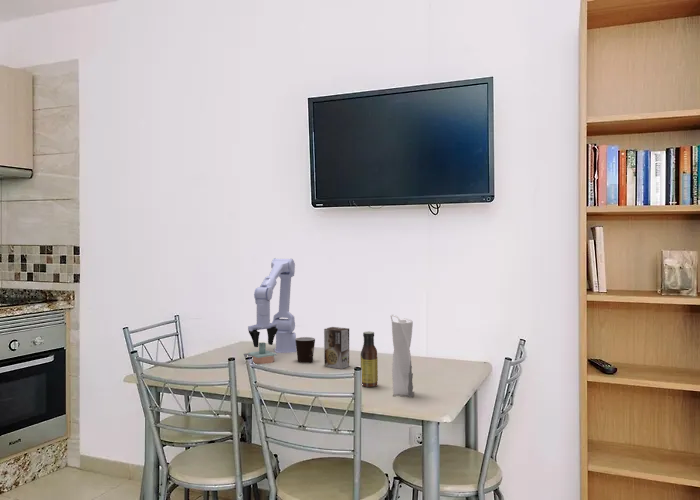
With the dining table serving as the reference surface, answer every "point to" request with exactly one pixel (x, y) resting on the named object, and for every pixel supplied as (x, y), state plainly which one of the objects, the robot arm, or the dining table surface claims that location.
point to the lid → (262, 352)
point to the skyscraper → (402, 358)
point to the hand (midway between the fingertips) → (263, 345)
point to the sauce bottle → (369, 361)
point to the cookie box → (336, 347)
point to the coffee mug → (305, 349)
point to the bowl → (263, 360)
